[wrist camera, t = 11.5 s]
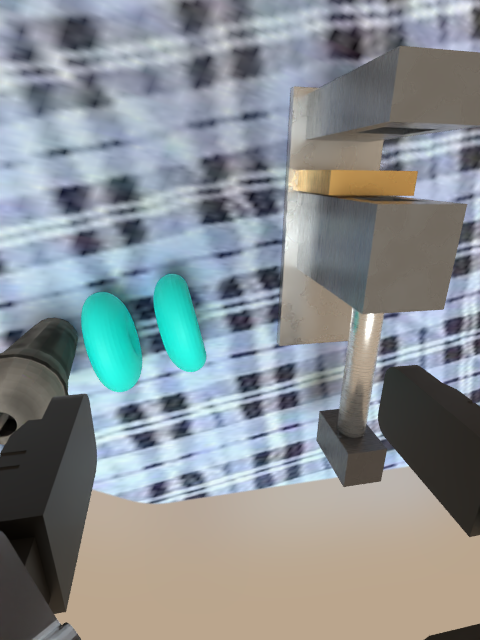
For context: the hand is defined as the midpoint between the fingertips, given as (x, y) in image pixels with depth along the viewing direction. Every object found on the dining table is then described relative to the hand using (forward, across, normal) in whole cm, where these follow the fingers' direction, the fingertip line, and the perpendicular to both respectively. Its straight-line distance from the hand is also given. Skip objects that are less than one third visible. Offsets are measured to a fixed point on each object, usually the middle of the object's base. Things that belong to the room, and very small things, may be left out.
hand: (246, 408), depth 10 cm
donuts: (+32, +4, +9) cm, 34 cm away
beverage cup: (+32, +14, +11) cm, 37 cm away
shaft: (+25, -16, +10) cm, 31 cm away
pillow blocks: (+32, -16, 0) cm, 36 cm away
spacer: (+31, -16, -5) cm, 35 cm away
